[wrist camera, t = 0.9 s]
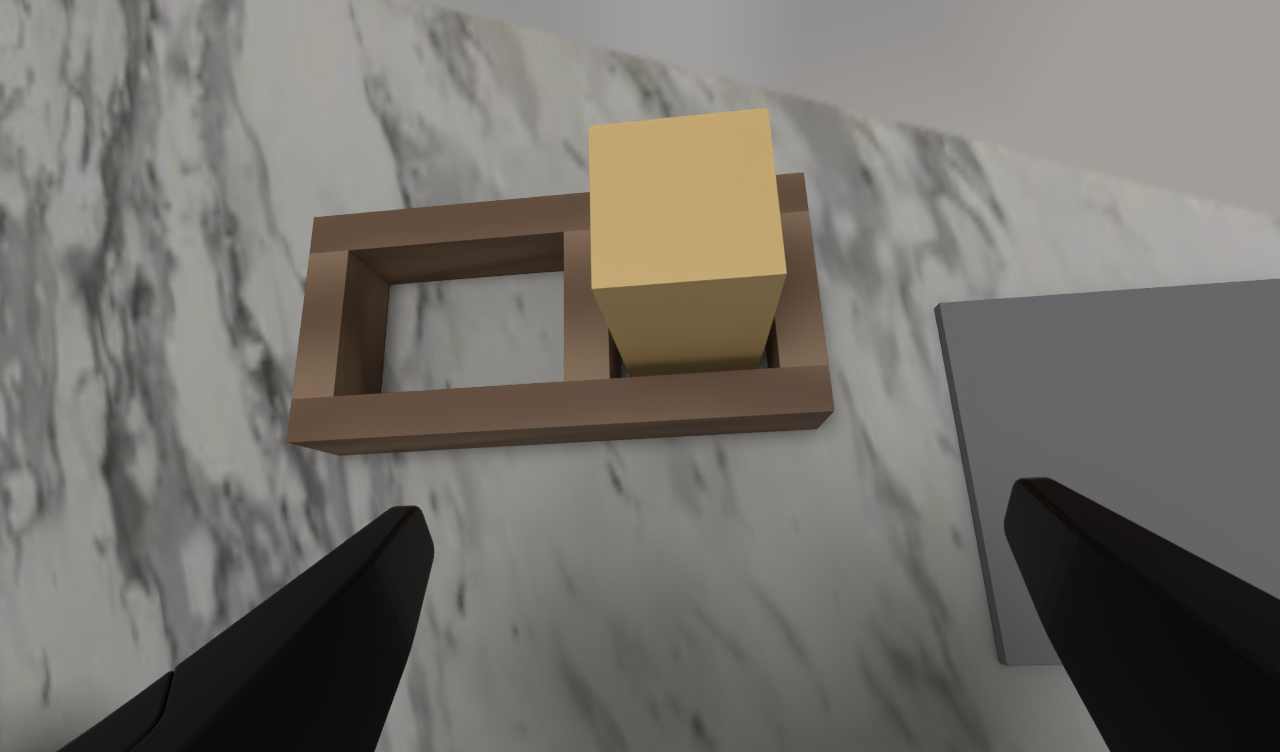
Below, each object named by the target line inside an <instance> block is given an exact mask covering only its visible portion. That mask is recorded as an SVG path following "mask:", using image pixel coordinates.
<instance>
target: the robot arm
mask: <svg viewBox="0 0 1280 752" xmlns="http://www.w3.org/2000/svg"><path fill="white" fill-rule="evenodd" d="M1004 532H1005V536H1006V539H1007V541H1008V544H1009V546H1010V549H1011V551H1012V554H1013V556H1014V558H1015V561H1016V563H1017V566H1018V568H1019V570H1020V573H1021V575H1022V578H1023V580H1024V583H1025V585H1026V587H1027V590H1028V592H1029V595H1030V597H1031V599H1032V602H1033V604H1034V607H1035V609H1036V611H1037V614H1038V616H1039V619H1040V621H1041V623H1042V625H1043V628H1044V630H1045V632H1046V634H1047V636H1048V638H1049V640H1050V642H1051V644H1052V646H1053V648H1054V650H1055V651H1056V653H1057V655H1058V657H1059V659H1060V661H1061V662H1062V664H1063V666H1064V668H1065V670H1066V672H1067V673H1068V675H1069V677H1070V679H1071V681H1072V683H1073V684H1074V686H1075V688H1076V690H1077V692H1078V694H1079V695H1080V697H1081V699H1082V701H1083V703H1084V704H1085V706H1086V708H1087V710H1088V712H1089V714H1090V715H1091V717H1092V719H1093V721H1094V723H1095V725H1096V726H1097V728H1098V730H1099V732H1100V734H1101V736H1102V737H1103V739H1104V741H1105V743H1106V745H1107V747H1108V748H1109V750H1110V752H1280V599H1278V598H1277V597H1275V596H1273V595H1271V594H1269V593H1267V592H1265V591H1263V590H1261V589H1260V588H1258V587H1256V586H1254V585H1252V584H1250V583H1248V582H1246V581H1244V580H1243V579H1241V578H1239V577H1237V576H1235V575H1233V574H1231V573H1229V572H1227V571H1225V570H1224V569H1222V568H1220V567H1218V566H1216V565H1214V564H1212V563H1210V562H1208V561H1207V560H1205V559H1203V558H1201V557H1199V556H1197V555H1195V554H1193V553H1191V552H1190V551H1188V550H1186V549H1184V548H1182V547H1180V546H1178V545H1176V544H1174V543H1172V542H1171V541H1169V540H1167V539H1165V538H1163V537H1161V536H1159V535H1157V534H1155V533H1154V532H1152V531H1150V530H1148V529H1146V528H1144V527H1142V526H1140V525H1138V524H1137V523H1135V522H1133V521H1131V520H1129V519H1127V518H1125V517H1123V516H1121V515H1120V514H1118V513H1116V512H1114V511H1112V510H1110V509H1108V508H1106V507H1104V506H1102V505H1101V504H1099V503H1097V502H1095V501H1093V500H1091V499H1089V498H1087V497H1085V496H1084V495H1082V494H1080V493H1078V492H1076V491H1074V490H1072V489H1070V488H1068V487H1067V486H1065V485H1063V484H1061V483H1059V482H1057V481H1055V480H1053V479H1051V478H1048V477H1028V478H1020V479H1017V480H1016V481H1015V482H1014V484H1013V486H1012V490H1011V494H1010V498H1009V501H1008V505H1007V509H1006V513H1005V517H1004ZM433 559H434V544H433V540H432V538H431V535H430V532H429V529H428V526H427V524H426V521H425V518H424V515H423V513H422V511H421V509H420V508H419V507H417V506H396V507H392V508H390V509H388V510H387V511H386V512H384V513H383V514H381V515H380V516H379V517H377V518H376V519H375V520H373V521H372V522H371V523H369V524H368V525H367V526H365V527H364V528H363V529H361V530H360V531H358V532H357V533H356V534H354V535H353V536H352V537H350V538H349V539H348V540H346V541H345V542H344V543H342V544H341V545H340V546H338V547H337V548H336V549H334V550H333V551H331V552H330V553H329V554H327V555H326V556H325V557H323V558H322V559H321V560H319V561H318V562H317V563H315V564H314V565H313V566H311V567H310V568H308V569H307V570H306V571H304V572H303V573H302V574H300V575H299V576H298V577H296V578H295V579H294V580H292V581H291V582H290V583H288V584H287V585H285V586H284V587H283V588H281V589H280V590H279V591H277V592H276V593H275V594H273V595H272V596H271V597H269V598H268V599H267V600H265V601H264V602H262V603H261V604H260V605H258V606H257V607H256V608H254V609H253V610H252V611H250V612H249V613H248V614H246V615H245V616H244V617H242V618H241V619H239V620H238V621H237V622H235V623H234V624H233V625H231V626H230V627H229V628H227V629H226V630H225V631H223V632H222V633H221V634H219V635H218V636H216V637H215V638H214V639H212V640H211V641H210V642H208V643H207V644H206V645H204V646H203V647H202V648H200V649H199V650H198V651H196V652H195V653H193V654H192V655H191V656H189V657H188V658H187V659H185V660H184V661H183V662H181V663H180V664H179V665H177V666H176V667H175V670H174V671H169V672H168V673H166V674H165V675H164V676H162V677H161V678H160V679H158V680H157V681H156V682H154V683H153V684H151V685H150V686H149V687H147V688H146V689H145V690H143V691H142V692H141V693H139V694H138V695H136V696H135V697H134V698H132V699H131V700H129V701H128V702H127V703H125V704H124V705H123V706H121V707H120V708H118V709H117V710H116V711H114V712H113V713H111V714H110V715H109V716H107V717H106V718H104V719H103V720H102V721H100V722H99V723H97V724H96V725H95V726H93V727H92V728H90V729H89V730H87V731H86V732H84V733H83V734H81V735H80V736H79V737H77V738H76V739H74V740H73V741H71V742H70V743H68V744H67V745H65V746H64V747H62V748H61V749H59V750H58V751H56V752H374V751H375V749H376V746H377V743H378V740H379V738H380V735H381V732H382V729H383V727H384V724H385V721H386V718H387V715H388V713H389V710H390V707H391V704H392V702H393V699H394V696H395V693H396V690H397V688H398V685H399V682H400V679H401V677H402V674H403V671H404V668H405V666H406V663H407V660H408V657H409V654H410V651H411V647H412V644H413V640H414V637H415V633H416V629H417V625H418V621H419V616H420V612H421V608H422V604H423V600H424V596H425V592H426V588H427V584H428V580H429V575H430V571H431V567H432V563H433Z"/></svg>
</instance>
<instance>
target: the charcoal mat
mask: <svg viewBox="0 0 1280 752" xmlns="http://www.w3.org/2000/svg"><path fill="white" fill-rule="evenodd" d="M934 309H935V314H936V319H937V325H938V330H939V336H940V341H941V347H942V352H943V357H944V363H945V368H946V374H947V379H948V385H949V390H950V395H951V401H952V406H953V412H954V417H955V423H956V428H957V434H958V439H959V444H960V450H961V455H962V461H963V466H964V472H965V477H966V482H967V488H968V493H969V499H970V504H971V510H972V515H973V521H974V526H975V531H976V537H977V542H978V548H979V553H980V559H981V564H982V569H983V575H984V580H985V586H986V591H987V597H988V602H989V607H990V613H991V618H992V624H993V629H994V635H995V640H996V646H997V651H998V656H999V662H1000V663H1002V664H1005V665H1051V664H1062V662H1061V661H1060V659H1059V657H1058V655H1057V653H1056V651H1055V650H1054V648H1053V646H1052V644H1051V642H1050V640H1049V638H1048V636H1047V634H1046V632H1045V630H1044V628H1043V625H1042V623H1041V621H1040V619H1039V616H1038V614H1037V611H1036V609H1035V607H1034V604H1033V602H1032V599H1031V597H1030V595H1029V592H1028V590H1027V587H1026V585H1025V583H1024V580H1023V578H1022V575H1021V573H1020V570H1019V568H1018V566H1017V563H1016V561H1015V558H1014V556H1013V554H1012V551H1011V549H1010V546H1009V544H1008V541H1007V539H1006V536H1005V532H1004V517H1005V513H1006V509H1007V505H1008V501H1009V498H1010V494H1011V490H1012V486H1013V484H1014V482H1015V481H1016V480H1017V479H1020V478H1028V477H1048V478H1051V479H1053V480H1055V481H1057V482H1059V483H1061V484H1063V485H1065V486H1067V487H1068V488H1070V489H1072V490H1074V491H1076V492H1078V493H1080V494H1082V495H1084V496H1085V497H1087V498H1089V499H1091V500H1093V501H1095V502H1097V503H1099V504H1101V505H1102V506H1104V507H1106V508H1108V509H1110V510H1112V511H1114V512H1116V513H1118V514H1120V515H1121V516H1123V517H1125V518H1127V519H1129V520H1131V521H1133V522H1135V523H1137V524H1138V525H1140V526H1142V527H1144V528H1146V529H1148V530H1150V531H1152V532H1154V533H1155V534H1157V535H1159V536H1161V537H1163V538H1165V539H1167V540H1169V541H1171V542H1172V543H1174V544H1176V545H1178V546H1180V547H1182V548H1184V549H1186V550H1188V551H1190V552H1191V553H1193V554H1195V555H1197V556H1199V557H1201V558H1203V559H1205V560H1207V561H1208V562H1210V563H1212V564H1214V565H1216V566H1218V567H1220V568H1222V569H1224V570H1225V571H1227V572H1229V573H1231V574H1233V575H1235V576H1237V577H1239V578H1241V579H1243V580H1244V581H1246V582H1248V583H1250V584H1252V585H1254V586H1256V587H1258V588H1260V589H1261V590H1263V591H1265V592H1267V593H1269V594H1271V595H1273V596H1275V597H1277V598H1278V599H1280V279H1269V280H1256V281H1242V282H1228V283H1214V284H1200V285H1186V286H1172V287H1158V288H1144V289H1130V290H1116V291H1102V292H1088V293H1074V294H1060V295H1047V296H1033V297H1019V298H1005V299H991V300H977V301H963V302H949V303H939V304H938V305H937V306H936V307H935V308H934Z"/></svg>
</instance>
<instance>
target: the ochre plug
mask: <svg viewBox="0 0 1280 752" xmlns="http://www.w3.org/2000/svg"><path fill="white" fill-rule="evenodd" d="M589 167H590V226H591V285H592V291H593V293H594V296H595V298H596V300H597V302H598V305H599V307H600V309H601V312H602V314H603V316H604V318H605V321H606V323H607V325H608V327H609V330H610V332H611V334H612V337H613V339H614V341H615V343H616V346H617V348H618V350H619V352H620V355H621V357H622V359H623V362H624V364H625V366H626V368H627V371H628V373H629V375H630V377H643V376H659V375H674V374H690V373H705V372H721V371H737V370H752V369H758V368H759V365H760V362H761V358H762V355H763V352H764V348H765V345H766V342H767V338H768V335H769V332H770V328H771V325H772V322H773V318H774V315H775V312H776V308H777V305H778V302H779V298H780V295H781V292H782V288H783V285H784V282H785V278H786V275H787V270H786V262H785V253H784V244H783V235H782V227H781V218H780V209H779V200H778V192H777V183H776V174H775V165H774V157H773V148H772V139H771V130H770V122H769V113H768V108H760V109H751V110H741V111H731V112H721V113H712V114H702V115H692V116H682V117H672V118H663V119H653V120H643V121H633V122H624V123H614V124H604V125H594V126H589Z"/></svg>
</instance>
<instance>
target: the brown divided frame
mask: <svg viewBox="0 0 1280 752" xmlns="http://www.w3.org/2000/svg"><path fill="white" fill-rule="evenodd" d="M776 183H777V192H778V200H779V209H780V218H781V227H782V235H783V244H784V253H785V262H786V270H787V275H786V278H785V282H784V285H783V288H782V292H781V295H780V298H779V302H778V305H777V308H776V312H775V315H774V318H773V322H772V325H771V328H770V332H769V335H768V338H767V342H766V352H767V362H768V369H752V370H737V371H721V372H705V373H690V374H674V375H659V376H643V377H628V378H621V366H620V352H619V350H618V348H617V346H616V343H615V341H614V339H613V337H612V334H611V332H610V330H609V327H608V325H607V323H606V321H605V318H604V316H603V314H602V312H601V309H600V307H599V305H598V302H597V300H596V298H595V296H594V293H593V291H592V285H591V226H590V192H586V193H575V194H564V195H553V196H542V197H531V198H520V199H509V200H498V201H487V202H476V203H466V204H455V205H444V206H433V207H422V208H411V209H400V210H389V211H378V212H367V213H356V214H346V215H335V216H324V217H314V223H313V231H312V239H311V247H310V255H309V263H308V271H307V279H306V287H305V295H304V304H303V312H302V320H301V328H300V336H299V344H298V352H297V360H296V368H295V376H294V384H293V393H292V401H291V409H290V417H289V425H288V433H287V441H286V443H290V444H295V445H299V446H303V447H307V448H311V449H315V450H319V451H323V452H327V453H331V454H335V455H353V454H371V453H389V452H407V451H425V450H443V449H461V448H479V447H498V446H516V445H534V444H552V443H570V442H588V441H606V440H624V439H642V438H660V437H679V436H697V435H715V434H733V433H751V432H769V431H787V430H805V429H817V428H818V427H819V426H820V425H821V424H822V423H823V422H824V421H825V420H826V419H827V418H828V417H829V416H830V415H831V414H832V413H833V412H834V404H833V397H832V389H831V381H830V373H829V366H828V358H827V350H826V342H825V335H824V327H823V319H822V311H821V303H820V296H819V288H818V280H817V272H816V265H815V257H814V249H813V241H812V234H811V226H810V218H809V210H808V203H807V195H806V187H805V179H804V173H793V174H782V175H776ZM561 270H564V382H550V383H534V384H519V385H503V386H487V387H472V388H456V389H441V390H425V391H410V392H394V393H381V381H382V368H383V356H384V344H385V332H386V320H387V308H388V296H389V284H400V283H412V282H425V281H437V280H450V279H462V278H474V277H487V276H499V275H512V274H524V273H536V272H549V271H561Z"/></svg>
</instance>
